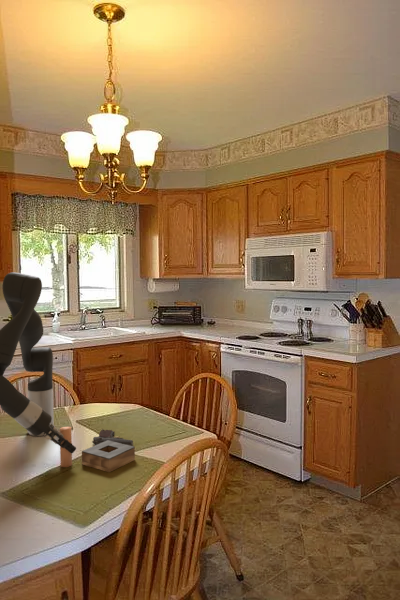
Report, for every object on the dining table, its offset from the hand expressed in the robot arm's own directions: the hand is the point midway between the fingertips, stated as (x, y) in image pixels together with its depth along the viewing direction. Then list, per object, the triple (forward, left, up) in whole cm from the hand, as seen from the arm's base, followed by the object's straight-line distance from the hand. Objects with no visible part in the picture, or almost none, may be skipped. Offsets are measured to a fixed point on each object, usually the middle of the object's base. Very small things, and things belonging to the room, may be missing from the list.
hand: (72, 448), depth 158 cm
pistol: (-3, +23, -6) cm, 24 cm away
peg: (-1, -2, -5) cm, 5 cm away
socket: (+9, +7, -5) cm, 13 cm away
